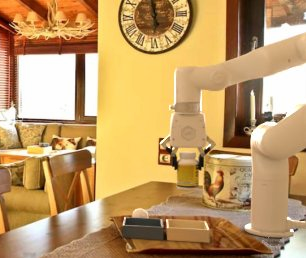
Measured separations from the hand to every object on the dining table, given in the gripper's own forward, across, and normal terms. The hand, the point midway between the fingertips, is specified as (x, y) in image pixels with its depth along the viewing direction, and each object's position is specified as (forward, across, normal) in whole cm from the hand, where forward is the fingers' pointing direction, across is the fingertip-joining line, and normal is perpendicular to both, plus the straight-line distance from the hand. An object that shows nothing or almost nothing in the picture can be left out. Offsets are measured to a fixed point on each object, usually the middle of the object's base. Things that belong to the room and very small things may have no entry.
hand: (187, 169), depth 152 cm
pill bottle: (+6, 0, 0) cm, 6 cm away
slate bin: (+18, -13, -9) cm, 24 cm away
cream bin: (+18, -1, -9) cm, 20 cm away
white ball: (+18, -14, +1) cm, 23 cm away
